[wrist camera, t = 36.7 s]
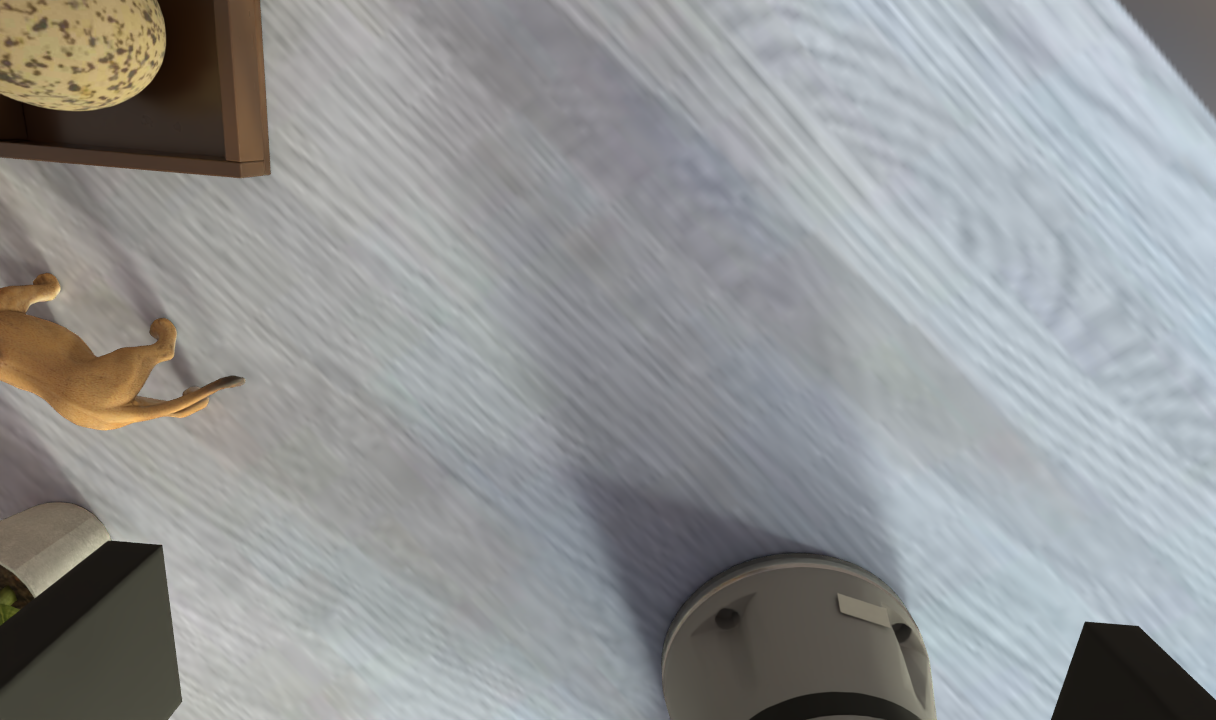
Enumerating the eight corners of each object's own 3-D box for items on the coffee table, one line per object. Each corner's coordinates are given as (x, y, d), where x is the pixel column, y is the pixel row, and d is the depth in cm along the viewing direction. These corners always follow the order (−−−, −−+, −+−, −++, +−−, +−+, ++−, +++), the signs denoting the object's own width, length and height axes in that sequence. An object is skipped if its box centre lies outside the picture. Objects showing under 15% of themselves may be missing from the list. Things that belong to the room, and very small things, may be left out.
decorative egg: (167, 145, 33) (-14, 149, 24) (22, 54, 32) (-227, 21, 23) (229, 5, 32) (60, -51, 22) (78, -96, 30) (-169, -200, 21)
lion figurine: (-32, 342, 37) (-226, 404, 29) (-30, 246, 36) (-235, 282, 27) (244, 418, 38) (135, 500, 30) (258, 328, 37) (147, 387, 28)
